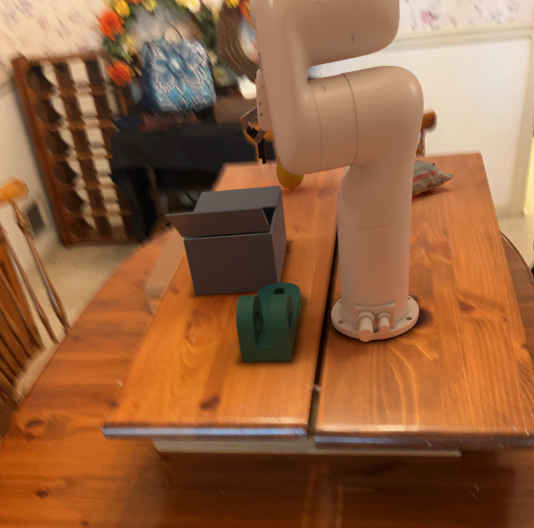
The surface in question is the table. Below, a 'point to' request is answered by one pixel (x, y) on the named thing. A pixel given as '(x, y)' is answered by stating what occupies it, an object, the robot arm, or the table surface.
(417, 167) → the packaged food
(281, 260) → the carton
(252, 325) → the bracket
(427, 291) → the table surface
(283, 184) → the lemon
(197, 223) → the carton flap
